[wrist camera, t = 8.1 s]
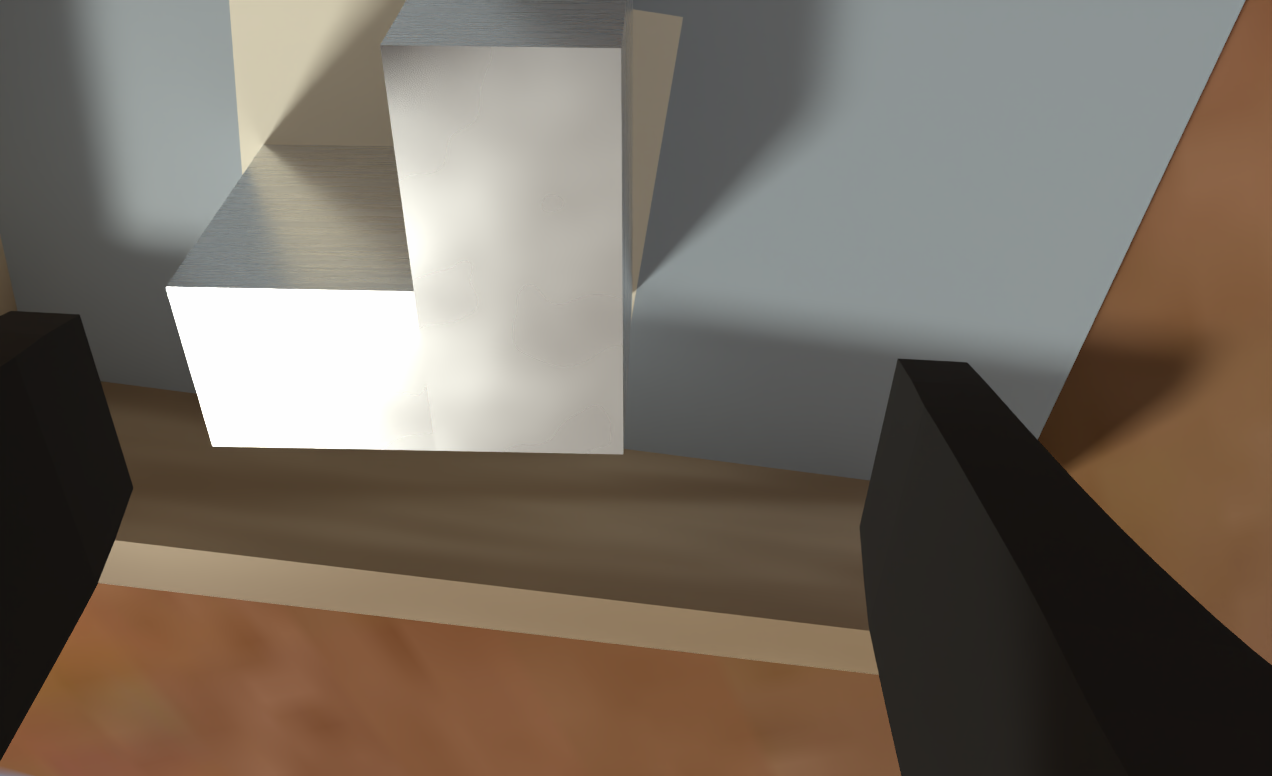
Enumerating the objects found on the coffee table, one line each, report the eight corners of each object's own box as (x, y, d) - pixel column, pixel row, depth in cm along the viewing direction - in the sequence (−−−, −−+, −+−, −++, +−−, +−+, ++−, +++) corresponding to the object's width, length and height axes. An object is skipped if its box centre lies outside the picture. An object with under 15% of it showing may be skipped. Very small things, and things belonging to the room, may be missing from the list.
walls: (-266, -618, 12) (-608, -674, 9) (1376, -319, 13) (1601, -274, 10) (-6, 396, 20) (-133, 556, 17) (987, 522, 21) (1041, 693, 18)
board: (-168, -600, 12) (-191, -603, 12) (1376, -319, 13) (1393, -315, 13) (41, 359, 20) (31, 372, 19) (1004, 483, 21) (1010, 498, 20)
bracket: (632, 293, 18) (623, 455, 15) (293, 287, 18) (212, 446, 15) (632, -62, 15) (621, 48, 12) (218, -66, 15) (93, 41, 12)
